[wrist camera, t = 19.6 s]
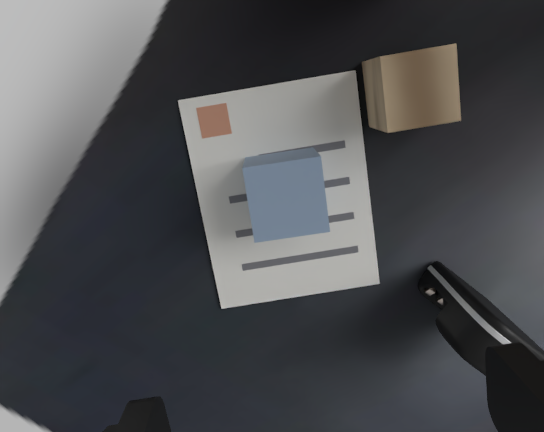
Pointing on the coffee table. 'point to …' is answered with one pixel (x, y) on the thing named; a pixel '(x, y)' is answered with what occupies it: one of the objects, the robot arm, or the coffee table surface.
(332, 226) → the letter
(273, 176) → the blue cube
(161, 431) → the robot arm
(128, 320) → the coffee table surface
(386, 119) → the oak block
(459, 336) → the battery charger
